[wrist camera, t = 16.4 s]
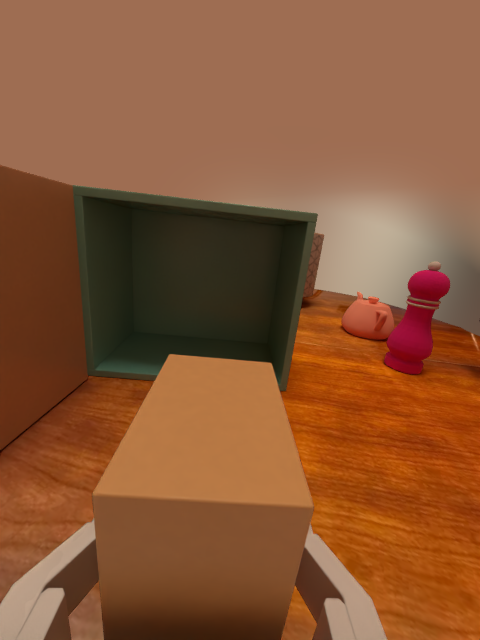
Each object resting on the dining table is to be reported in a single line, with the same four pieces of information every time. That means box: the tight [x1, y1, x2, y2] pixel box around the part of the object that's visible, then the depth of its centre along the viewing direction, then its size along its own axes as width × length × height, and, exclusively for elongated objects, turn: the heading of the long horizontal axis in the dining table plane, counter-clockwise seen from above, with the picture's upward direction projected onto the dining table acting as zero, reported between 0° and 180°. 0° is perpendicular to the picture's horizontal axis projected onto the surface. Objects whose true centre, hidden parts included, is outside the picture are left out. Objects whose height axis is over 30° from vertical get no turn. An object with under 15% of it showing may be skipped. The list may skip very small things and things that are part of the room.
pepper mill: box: [384, 261, 450, 374], centre depth 48 cm, size 7×7×20 cm
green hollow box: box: [73, 185, 318, 391], centre depth 41 cm, size 16×28×24 cm, turn 91°
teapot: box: [342, 292, 394, 340], centre depth 68 cm, size 12×18×10 cm
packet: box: [92, 354, 314, 640], centre depth 10 cm, size 4×6×12 cm
